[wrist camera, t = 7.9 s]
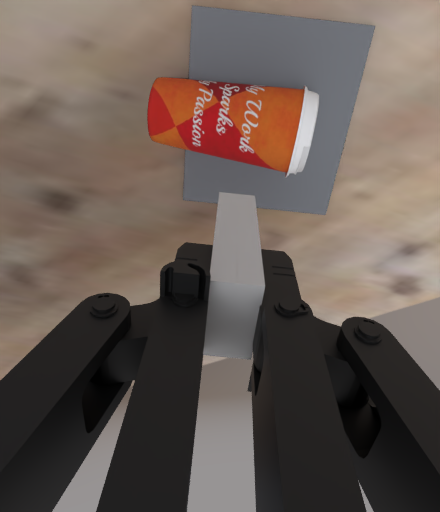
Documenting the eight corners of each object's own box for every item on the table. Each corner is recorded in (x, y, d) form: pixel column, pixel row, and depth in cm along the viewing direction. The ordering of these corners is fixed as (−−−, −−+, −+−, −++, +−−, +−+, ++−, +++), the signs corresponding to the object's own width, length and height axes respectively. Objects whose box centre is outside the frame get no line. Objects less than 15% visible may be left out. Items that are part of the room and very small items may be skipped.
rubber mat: (183, 198, 41) (182, 199, 41) (192, 5, 32) (192, 5, 32) (324, 213, 41) (325, 214, 41) (373, 25, 32) (375, 25, 32)
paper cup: (156, 43, 30) (326, 68, 29) (173, 94, 38) (308, 115, 37) (136, 133, 30) (310, 161, 28) (157, 166, 37) (295, 190, 36)
